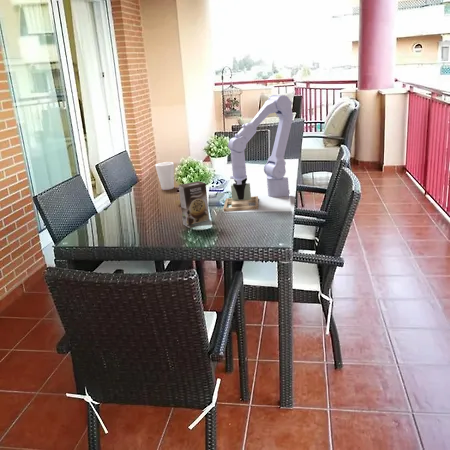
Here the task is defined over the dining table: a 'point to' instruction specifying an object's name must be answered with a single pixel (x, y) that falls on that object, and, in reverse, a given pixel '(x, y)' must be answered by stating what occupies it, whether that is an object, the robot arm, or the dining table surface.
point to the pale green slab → (246, 193)
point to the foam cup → (166, 175)
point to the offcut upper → (240, 203)
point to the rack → (229, 201)
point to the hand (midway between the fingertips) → (241, 196)
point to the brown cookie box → (194, 203)
